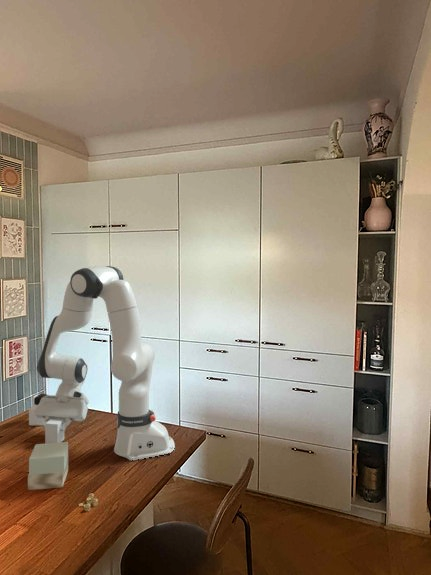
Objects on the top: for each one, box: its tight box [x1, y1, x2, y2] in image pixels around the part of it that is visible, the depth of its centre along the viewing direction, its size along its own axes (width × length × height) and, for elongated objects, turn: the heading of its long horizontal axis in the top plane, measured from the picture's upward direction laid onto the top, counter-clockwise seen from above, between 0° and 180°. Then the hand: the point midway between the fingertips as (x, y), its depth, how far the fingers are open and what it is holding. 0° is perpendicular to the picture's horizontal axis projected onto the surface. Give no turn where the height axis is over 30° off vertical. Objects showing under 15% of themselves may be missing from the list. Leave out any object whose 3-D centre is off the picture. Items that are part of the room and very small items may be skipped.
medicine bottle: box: [28, 393, 48, 426], centre depth 170 cm, size 7×7×12 cm
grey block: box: [44, 418, 65, 444], centre depth 152 cm, size 5×5×8 cm
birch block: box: [27, 458, 69, 491], centre depth 126 cm, size 10×10×5 cm
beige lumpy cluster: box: [78, 492, 99, 512], centre depth 114 cm, size 5×5×2 cm
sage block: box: [28, 441, 69, 475], centre depth 125 cm, size 10×10×5 cm
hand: (54, 429), depth 151 cm, fingers closed on grey block, 5 cm apart
